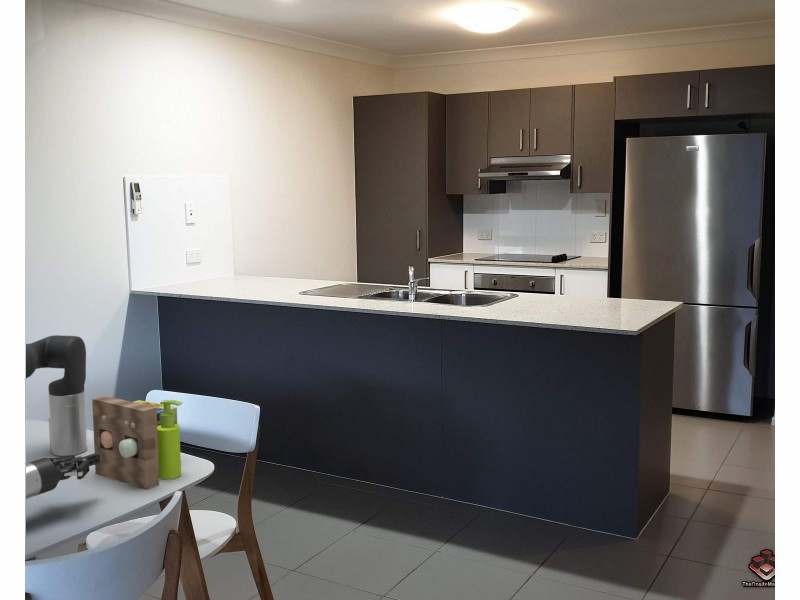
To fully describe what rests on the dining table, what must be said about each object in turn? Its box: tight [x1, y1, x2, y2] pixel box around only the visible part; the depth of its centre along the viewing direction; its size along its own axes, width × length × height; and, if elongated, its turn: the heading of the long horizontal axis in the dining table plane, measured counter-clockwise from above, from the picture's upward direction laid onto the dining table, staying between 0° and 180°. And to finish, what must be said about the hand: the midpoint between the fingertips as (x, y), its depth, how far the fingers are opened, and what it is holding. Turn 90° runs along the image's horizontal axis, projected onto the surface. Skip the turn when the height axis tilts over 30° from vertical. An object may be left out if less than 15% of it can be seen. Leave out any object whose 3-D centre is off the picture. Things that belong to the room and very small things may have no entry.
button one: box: [101, 431, 113, 448], centre depth 197 cm, size 4×3×4 cm
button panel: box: [91, 395, 160, 490], centre depth 195 cm, size 20×4×20 cm, turn 57°
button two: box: [119, 437, 138, 458], centre depth 190 cm, size 4×3×4 cm
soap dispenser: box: [157, 399, 183, 481], centre depth 198 cm, size 6×7×20 cm
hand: (98, 457), depth 183 cm, fingers closed
